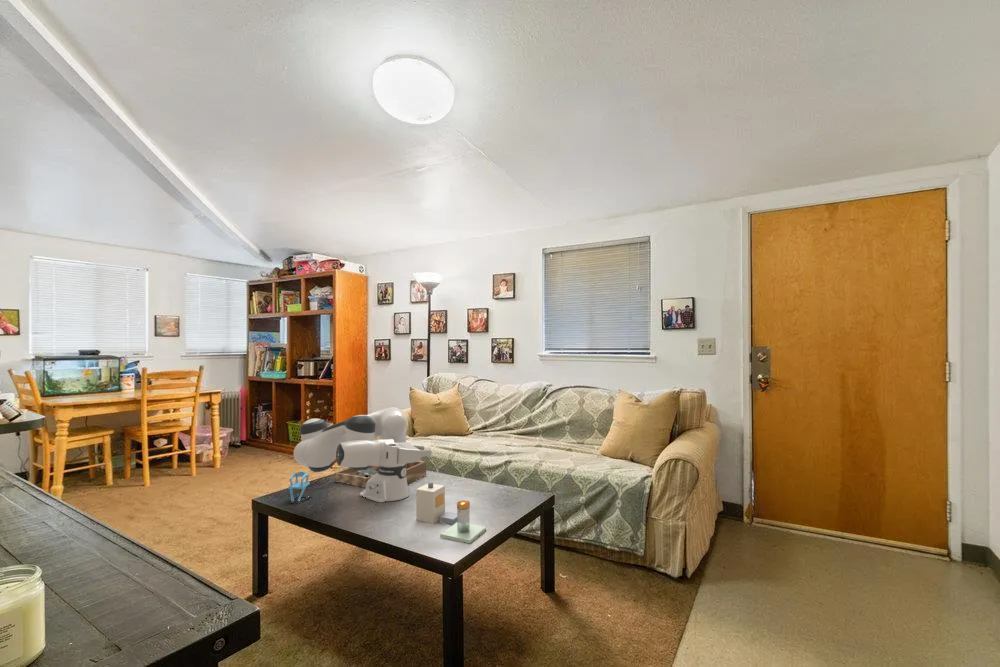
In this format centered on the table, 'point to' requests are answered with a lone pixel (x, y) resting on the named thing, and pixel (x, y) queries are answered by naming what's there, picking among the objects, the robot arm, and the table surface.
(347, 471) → the brown wooden tray
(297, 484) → the chair
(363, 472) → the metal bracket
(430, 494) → the box
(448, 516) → the cover plate
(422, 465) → the bracket holder
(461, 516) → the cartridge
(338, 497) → the table surface
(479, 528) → the pad
